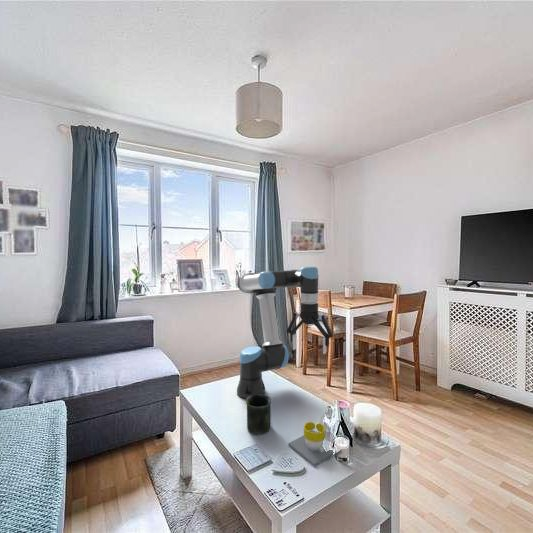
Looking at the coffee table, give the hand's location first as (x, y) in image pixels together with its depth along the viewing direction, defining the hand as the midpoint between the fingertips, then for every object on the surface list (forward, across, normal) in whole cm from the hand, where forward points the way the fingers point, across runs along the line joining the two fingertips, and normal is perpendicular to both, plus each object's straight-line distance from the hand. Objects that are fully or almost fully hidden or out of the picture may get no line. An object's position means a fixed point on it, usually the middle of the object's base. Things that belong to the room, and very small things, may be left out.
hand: (309, 351), depth 129 cm
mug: (+32, -19, -12) cm, 39 cm away
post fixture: (+32, +7, -16) cm, 36 cm away
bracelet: (+27, +7, -16) cm, 32 cm away
